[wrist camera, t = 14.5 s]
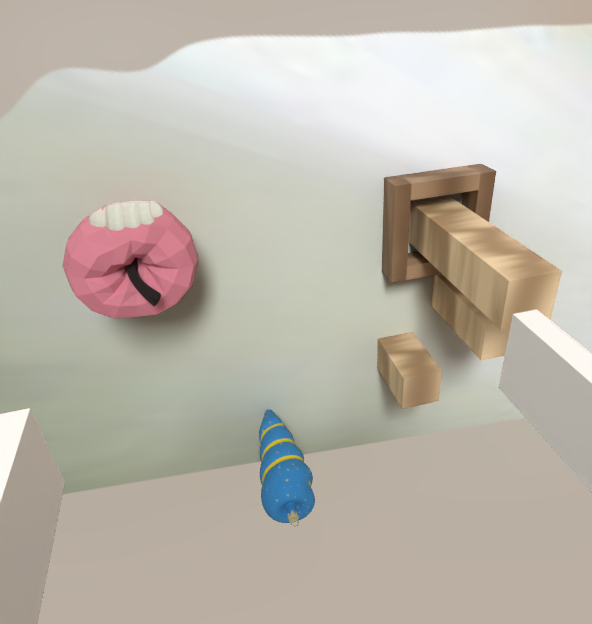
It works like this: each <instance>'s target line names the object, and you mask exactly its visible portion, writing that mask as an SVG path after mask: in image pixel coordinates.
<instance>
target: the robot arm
mask: <svg viewBox="0 0 592 624" xmlns="http://www.w3.org/2000/svg"><path fill="white" fill-rule="evenodd" d="M499 388H500V389H501V391H502V392H503V393H504V394H505V395H506V396H507V397H508V399H509V400H510V401H511V402H512V403H513V404H514V405H515V406H516V408H517V409H518V410H519V411H520V412H521V413H522V414H523V416H524V417H525V418H526V419H527V420H528V421H529V422H530V423H531V424H532V426H533V427H534V428H535V429H536V430H537V431H538V432H539V434H540V435H541V436H542V437H543V438H544V439H545V440H546V442H547V443H548V444H549V445H550V446H551V447H552V448H553V449H554V451H555V452H556V453H557V454H558V455H559V456H560V457H561V458H562V460H563V461H564V462H565V463H566V464H567V465H568V466H569V468H570V469H571V470H572V471H573V472H574V473H575V474H576V476H577V477H578V478H579V479H580V480H581V481H582V482H583V483H584V485H585V486H586V487H587V488H588V489H589V490H590V491H591V492H592V354H591V353H590V352H589V351H588V350H586V349H585V348H584V347H583V346H581V345H580V344H579V343H578V342H576V341H575V340H574V339H573V338H572V337H570V336H569V335H568V334H567V333H565V332H564V331H563V330H562V329H560V328H559V327H558V326H557V325H556V324H554V323H553V322H552V321H551V320H549V319H548V318H547V317H546V316H544V315H543V314H542V313H541V312H539V311H538V310H537V309H536V310H531V311H526V312H521V313H516V314H513V316H512V321H511V326H510V331H509V337H508V342H507V347H506V352H505V357H504V363H503V368H502V373H501V378H500V384H499ZM64 485H65V482H64V479H63V477H62V475H61V473H60V471H59V469H58V467H57V465H56V462H55V460H54V458H53V456H52V454H51V452H50V450H49V447H48V445H47V443H46V441H45V439H44V437H43V435H42V433H41V430H40V428H39V426H38V424H37V422H36V420H35V418H34V415H33V413H32V411H31V409H30V408H29V409H24V410H19V411H14V412H9V413H4V414H0V624H37V623H38V618H39V613H40V608H41V602H42V598H43V593H44V587H45V582H46V577H47V572H48V567H49V562H50V557H51V551H52V546H53V541H54V536H55V531H56V526H57V521H58V516H59V511H60V505H61V500H62V495H63V490H64Z"/></svg>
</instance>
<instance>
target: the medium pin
mask: <svg viewBox="0 0 592 624" xmlns="http://www.w3.org/2000/svg"><path fill="white" fill-rule="evenodd" d="M431 306H432V307H433V308H434V309H435V310H436V311H437V312H438V314H439V315H440V316H441V317H442V318H443V319H444V320H445V321H446V322H447V324H448V325H449V326H450V327H451V328H452V329H453V330H454V331H455V332H456V334H457V335H458V336H459V337H460V338H461V339H462V340H463V341H464V342H465V344H466V345H467V346H468V347H469V348H470V349H471V350H472V351H473V352H474V354H475V355H476V356H477V357H478V358H479V359H480V360H486V359H490V358H495V357H500V356H505V352H506V347H507V342H508V337H509V331H510V328H507V329H502V330H500V329H499V328H498V327H497V326H496V325H495V324H494V323H493V322H492V321H491V320H490V319H489V318H488V317H487V316H486V315H484V314H483V313H482V312H481V311H480V310H479V309H478V308H477V307H476V306H475V305H474V304H473V303H472V302H471V301H470V300H469V299H468V298H467V297H466V296H465V295H464V294H463V293H462V292H460V291H459V290H458V289H457V288H456V287H455V286H454V285H453V284H452V283H451V282H450V281H449V280H448V279H447V278H446V277H445V276H444V275H443V274H438V275H434V282H433V294H432V305H431Z"/></svg>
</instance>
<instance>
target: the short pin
mask: <svg viewBox="0 0 592 624" xmlns="http://www.w3.org/2000/svg"><path fill="white" fill-rule="evenodd" d="M377 368H378V370H379V371H380V373H381V375H382V376H383V378H384V380H385V381H386V383H387V385H388V386H389V388H390V390H391V391H392V393H393V395H394V396H395V398H396V400H397V401H398V403H399V405H400V406H401V408H402V409H405V408H409V407H414V406H418V405H423V404H427V403H432V402H436V401H439V394H440V384H441V375H442V370H441V369H440V367H439V366H438V365H437V363H436V362H435V361H434V360H433V358H432V357H431V356H430V354H429V353H428V352H427V350H426V349H425V348H424V347H423V345H422V344H421V343H420V341H419V340H418V339H417V337H416V336H415V335H414V334H413V332H410V333H405V334H400V335H395V336H389V337H384V338H379V339H378V354H377Z"/></svg>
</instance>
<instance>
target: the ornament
mask: <svg viewBox="0 0 592 624" xmlns="http://www.w3.org/2000/svg"><path fill="white" fill-rule="evenodd" d="M259 437H260V442H261V447H260V459H261V462H262V463H261V468H260V480H261V483H262V490H261V499H262V504H263V507H264V509H265V511H266V513H267V514H268V515H269V516H270V517H271V518H272V519H273V520H276V521H278V522H282V523H293V522H296V521H297V522H298V520H301V519H303V518H304V517H306V516H307V515H308V514H309V513H310V512H311V511H312V509H313V507H314V503H315V498H314V494H313V491H312V489H311V484H312V479H313V477H312V473H311V471H310V469H309V468H308V466H307V465H306V464H305V463H304V457H303V454H302V452H301V451H300V449H299V448H298V447H297V446H296V445H295V444H294V439H293V436H292V434H291V433H290V432H289V430H288V429H287V428H286V427H285V426H284V424H283V423H282V421H281V420H280V419H279V418H278V417H277V416H276V415H275V414H274V413H273V412H272V411H271V410H267V411H266V412H265V415H264V418H263V421H262V424H261V427H260V431H259Z"/></svg>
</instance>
